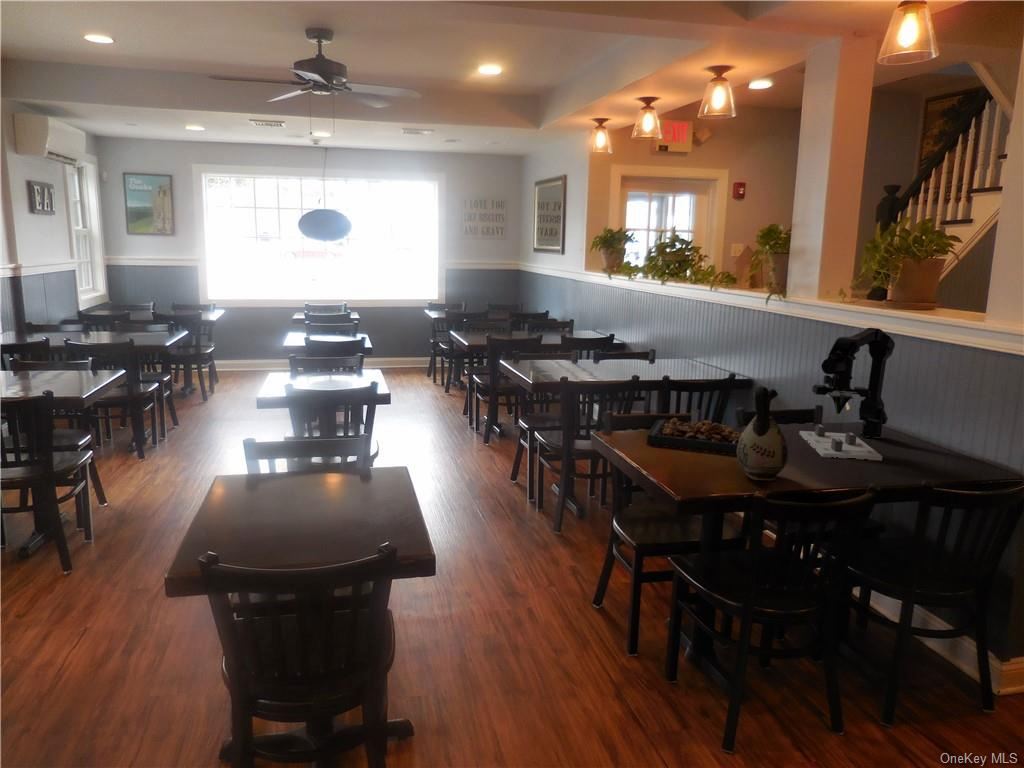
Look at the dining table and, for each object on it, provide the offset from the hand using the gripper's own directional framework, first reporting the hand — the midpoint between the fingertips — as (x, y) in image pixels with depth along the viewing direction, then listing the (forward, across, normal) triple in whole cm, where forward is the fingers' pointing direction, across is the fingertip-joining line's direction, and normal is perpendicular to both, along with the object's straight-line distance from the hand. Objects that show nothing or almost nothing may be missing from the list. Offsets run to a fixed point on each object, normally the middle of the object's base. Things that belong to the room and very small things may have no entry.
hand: (837, 413), depth 264 cm
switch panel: (+13, -2, 0) cm, 13 cm away
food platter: (+14, +45, +6) cm, 47 cm away
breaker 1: (+11, +2, -10) cm, 15 cm away
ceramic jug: (+13, +36, +43) cm, 58 cm away
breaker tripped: (+11, -6, 0) cm, 12 cm away
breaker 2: (+11, +2, +10) cm, 15 cm away
